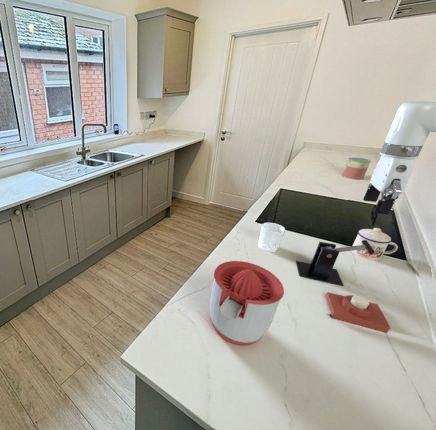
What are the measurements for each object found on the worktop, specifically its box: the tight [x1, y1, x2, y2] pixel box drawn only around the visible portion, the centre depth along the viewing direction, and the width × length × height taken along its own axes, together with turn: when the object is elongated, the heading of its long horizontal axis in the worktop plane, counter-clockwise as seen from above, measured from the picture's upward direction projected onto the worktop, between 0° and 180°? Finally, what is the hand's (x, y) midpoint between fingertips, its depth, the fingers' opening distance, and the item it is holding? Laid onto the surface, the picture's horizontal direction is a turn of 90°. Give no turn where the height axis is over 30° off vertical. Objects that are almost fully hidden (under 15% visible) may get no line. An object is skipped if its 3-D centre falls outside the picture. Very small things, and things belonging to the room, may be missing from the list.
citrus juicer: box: [209, 260, 285, 347], centre depth 67 cm, size 16×17×20 cm
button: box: [350, 295, 370, 309], centre depth 73 cm, size 4×4×2 cm
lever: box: [321, 240, 375, 254], centre depth 83 cm, size 12×6×2 cm, turn 64°
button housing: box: [325, 291, 391, 334], centre depth 74 cm, size 12×9×4 cm
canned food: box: [342, 157, 372, 180], centre depth 178 cm, size 11×11×12 cm
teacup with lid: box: [350, 227, 399, 261], centre depth 97 cm, size 12×9×12 cm
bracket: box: [295, 241, 345, 287], centre depth 88 cm, size 12×9×12 cm
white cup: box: [257, 222, 286, 253], centre depth 103 cm, size 8×8×10 cm
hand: (374, 206), depth 79 cm, fingers open, 9 cm apart
